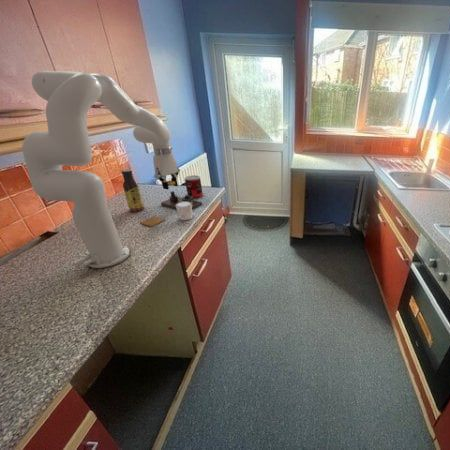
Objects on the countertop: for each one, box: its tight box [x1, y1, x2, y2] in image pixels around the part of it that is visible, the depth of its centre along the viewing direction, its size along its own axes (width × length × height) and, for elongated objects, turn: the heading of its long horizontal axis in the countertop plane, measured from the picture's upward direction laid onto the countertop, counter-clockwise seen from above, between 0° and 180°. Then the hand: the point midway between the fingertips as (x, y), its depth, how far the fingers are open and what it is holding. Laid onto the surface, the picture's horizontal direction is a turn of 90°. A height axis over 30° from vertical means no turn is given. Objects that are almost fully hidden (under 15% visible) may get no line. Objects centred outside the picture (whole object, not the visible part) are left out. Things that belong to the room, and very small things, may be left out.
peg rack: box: [160, 190, 203, 211], centre depth 130 cm, size 10×18×6 cm, turn 67°
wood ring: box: [181, 196, 194, 202], centre depth 127 cm, size 5×5×1 cm
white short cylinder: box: [175, 201, 193, 221], centre depth 117 cm, size 7×7×7 cm
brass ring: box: [166, 180, 175, 187], centre depth 127 cm, size 5×5×1 cm
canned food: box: [184, 174, 204, 199], centre depth 140 cm, size 8×8×11 cm
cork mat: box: [140, 216, 165, 227], centre depth 114 cm, size 7×7×1 cm
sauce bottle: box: [121, 169, 145, 213], centre depth 120 cm, size 6×6×20 cm
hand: (170, 187), depth 128 cm, fingers closed on brass ring, 5 cm apart
